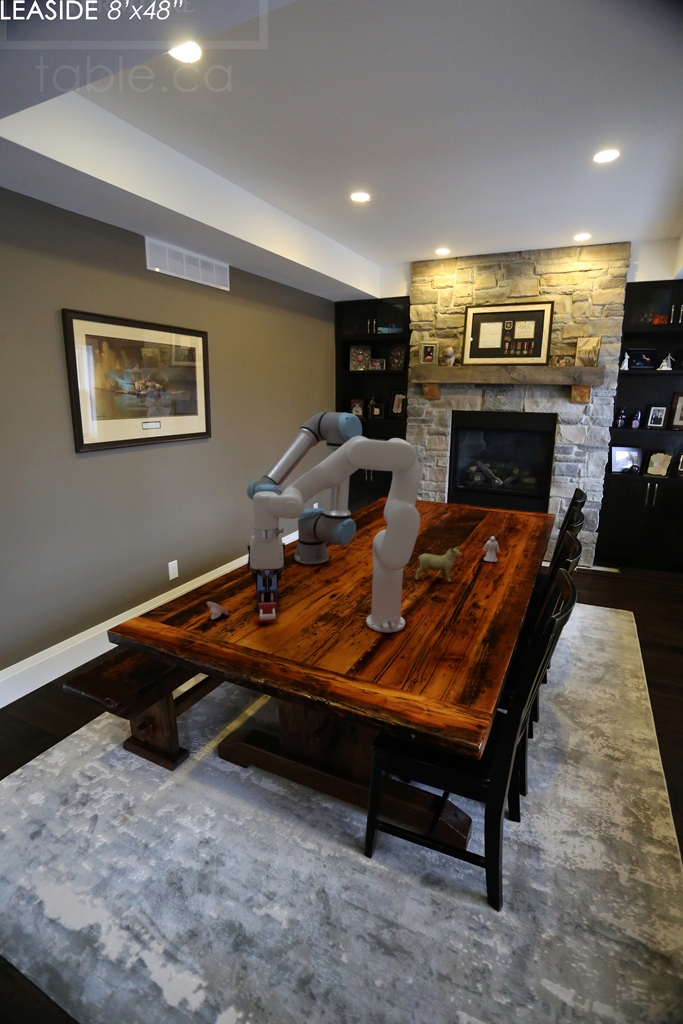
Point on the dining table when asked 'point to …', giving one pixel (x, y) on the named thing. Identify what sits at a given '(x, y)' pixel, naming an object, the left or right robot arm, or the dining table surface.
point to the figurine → (491, 550)
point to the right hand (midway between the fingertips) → (267, 588)
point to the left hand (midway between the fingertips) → (267, 588)
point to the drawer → (267, 607)
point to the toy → (438, 563)
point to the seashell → (216, 610)
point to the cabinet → (267, 588)
